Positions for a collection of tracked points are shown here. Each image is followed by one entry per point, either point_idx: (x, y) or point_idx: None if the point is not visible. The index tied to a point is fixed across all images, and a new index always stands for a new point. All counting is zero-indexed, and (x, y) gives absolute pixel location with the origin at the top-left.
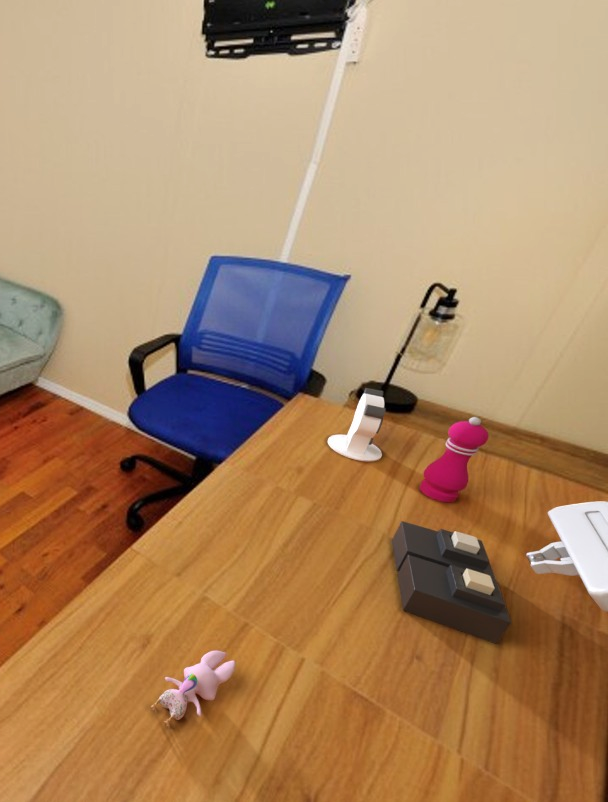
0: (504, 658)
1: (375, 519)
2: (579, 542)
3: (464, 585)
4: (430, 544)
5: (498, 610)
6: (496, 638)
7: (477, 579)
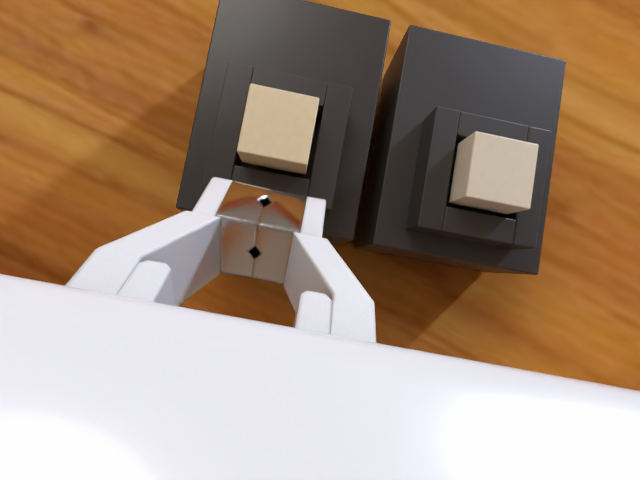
0: (160, 220)
1: (586, 87)
2: (222, 436)
3: None
4: (472, 108)
5: None
6: None
7: (265, 109)
